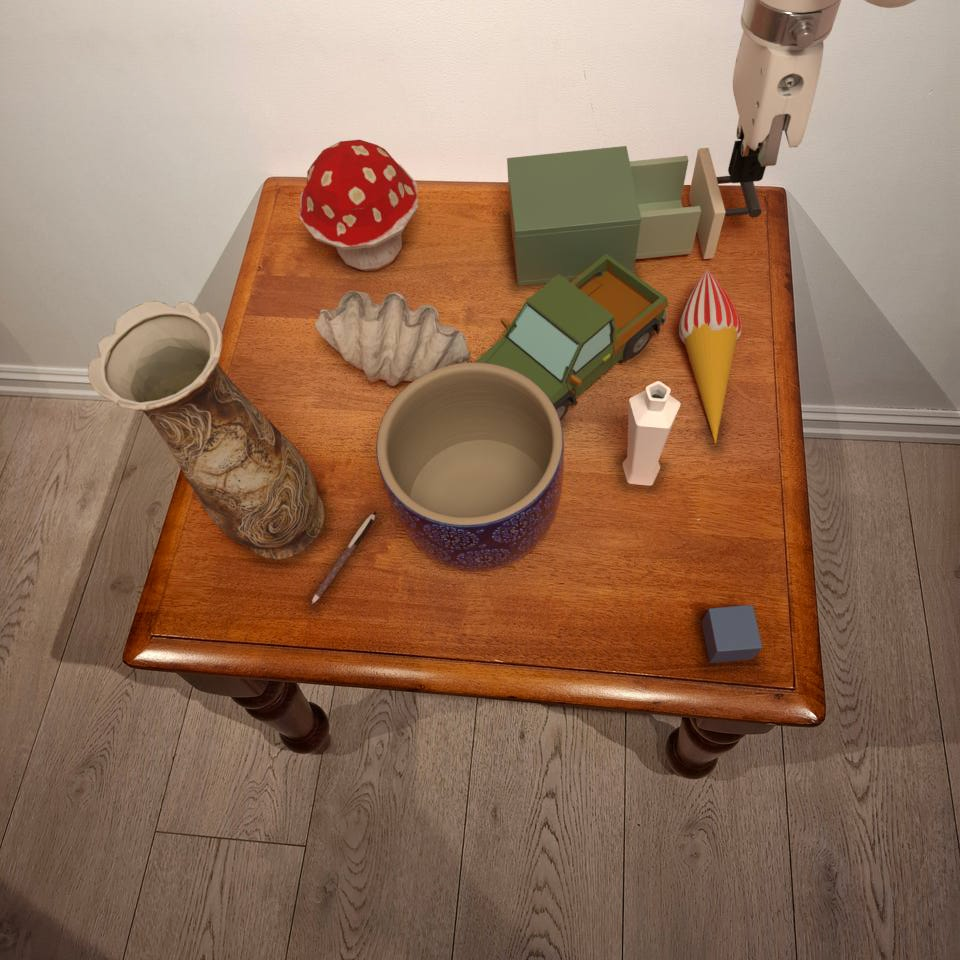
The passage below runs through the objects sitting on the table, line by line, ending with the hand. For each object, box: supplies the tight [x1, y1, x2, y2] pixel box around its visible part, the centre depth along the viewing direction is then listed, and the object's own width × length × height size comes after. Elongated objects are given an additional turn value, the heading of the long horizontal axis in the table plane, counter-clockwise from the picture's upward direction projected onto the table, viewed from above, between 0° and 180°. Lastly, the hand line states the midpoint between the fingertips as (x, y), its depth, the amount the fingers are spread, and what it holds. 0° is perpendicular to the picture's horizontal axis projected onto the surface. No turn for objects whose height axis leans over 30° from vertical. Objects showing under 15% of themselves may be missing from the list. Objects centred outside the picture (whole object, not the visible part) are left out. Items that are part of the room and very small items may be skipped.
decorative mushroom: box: [299, 139, 419, 272], centre depth 96 cm, size 14×14×15 cm
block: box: [701, 604, 763, 664], centre depth 77 cm, size 4×4×4 cm
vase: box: [87, 300, 326, 560], centre depth 74 cm, size 10×11×30 cm
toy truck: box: [474, 254, 669, 422], centre depth 89 cm, size 11×21×10 cm, turn 133°
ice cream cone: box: [678, 268, 743, 445], centre depth 90 cm, size 6×6×20 cm
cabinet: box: [506, 145, 641, 287], centre depth 97 cm, size 14×11×9 cm
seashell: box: [314, 290, 471, 387], centre depth 90 cm, size 10×15×10 cm
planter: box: [375, 361, 565, 572], centre depth 79 cm, size 16×16×15 cm
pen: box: [311, 511, 377, 605], centre depth 84 cm, size 11×1×1 cm, turn 149°
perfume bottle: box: [621, 380, 681, 487], centre depth 80 cm, size 5×4×15 cm
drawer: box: [629, 147, 763, 260], centre depth 97 cm, size 17×10×7 cm, turn 94°
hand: (744, 176), depth 86 cm, fingers closed
